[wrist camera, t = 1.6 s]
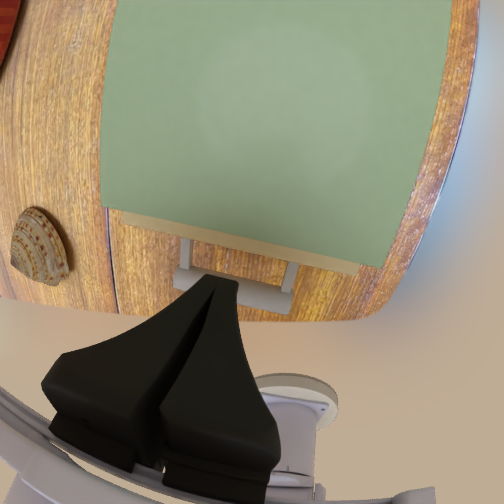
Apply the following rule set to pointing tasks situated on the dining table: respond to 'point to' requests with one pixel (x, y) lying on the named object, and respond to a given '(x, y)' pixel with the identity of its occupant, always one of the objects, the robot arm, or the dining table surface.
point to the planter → (7, 23)
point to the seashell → (38, 249)
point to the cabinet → (273, 116)
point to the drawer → (249, 290)
